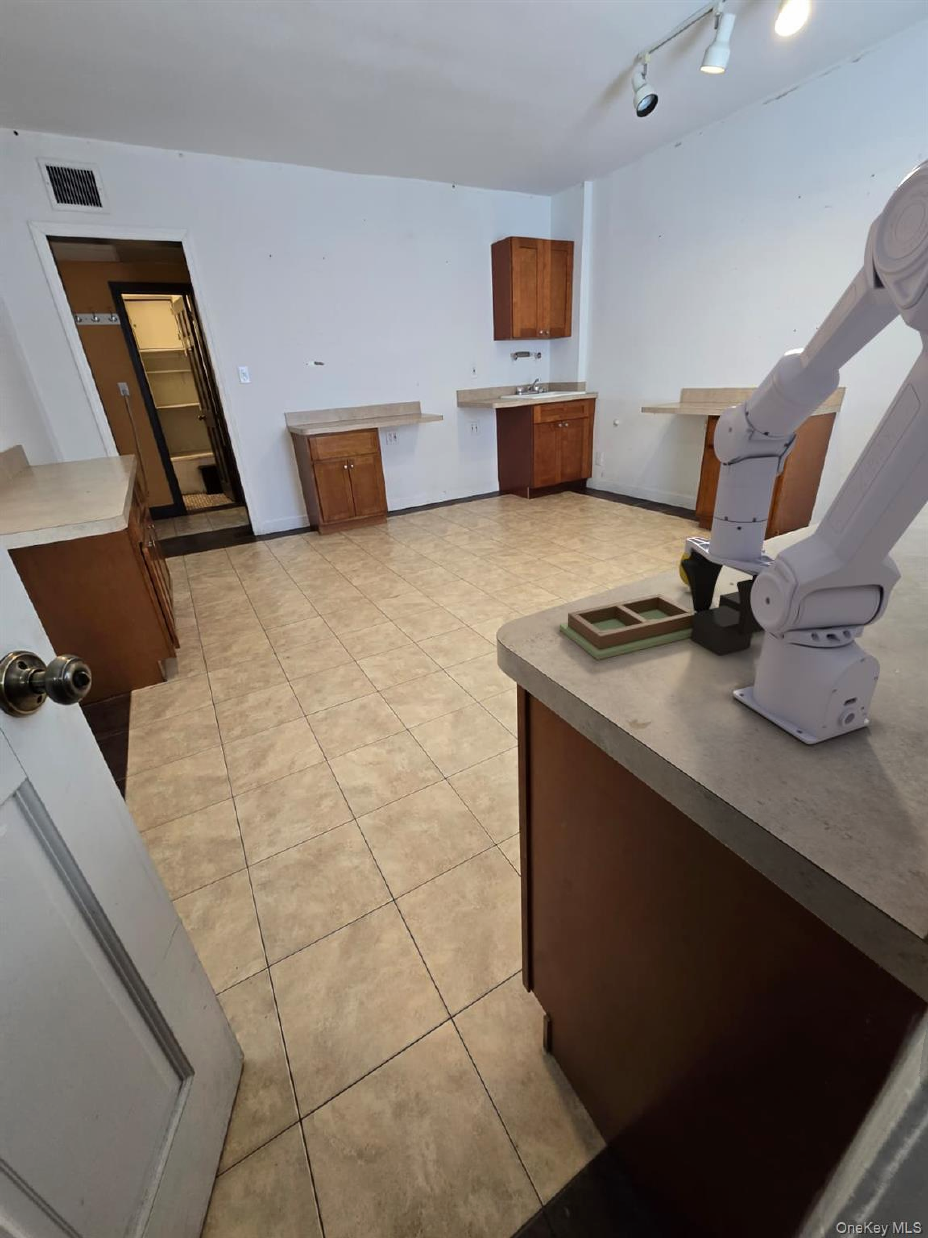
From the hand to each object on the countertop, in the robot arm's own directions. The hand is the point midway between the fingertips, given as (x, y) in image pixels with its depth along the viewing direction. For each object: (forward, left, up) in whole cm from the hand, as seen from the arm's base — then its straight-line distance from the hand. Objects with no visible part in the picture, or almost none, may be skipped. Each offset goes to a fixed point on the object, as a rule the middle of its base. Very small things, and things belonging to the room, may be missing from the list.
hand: (723, 620), depth 66 cm
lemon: (+16, -10, -4) cm, 19 cm away
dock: (+8, +8, -3) cm, 12 cm away
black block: (+3, -7, -3) cm, 8 cm away
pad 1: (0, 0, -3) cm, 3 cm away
